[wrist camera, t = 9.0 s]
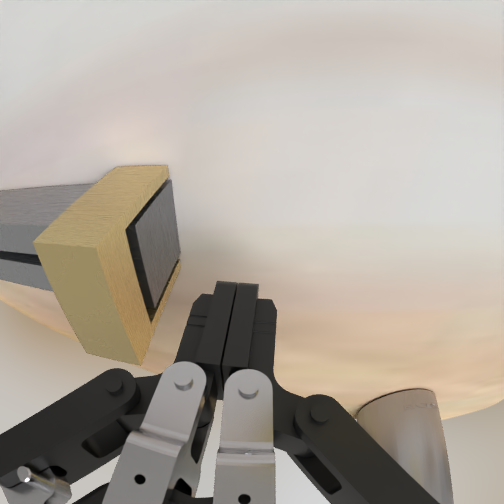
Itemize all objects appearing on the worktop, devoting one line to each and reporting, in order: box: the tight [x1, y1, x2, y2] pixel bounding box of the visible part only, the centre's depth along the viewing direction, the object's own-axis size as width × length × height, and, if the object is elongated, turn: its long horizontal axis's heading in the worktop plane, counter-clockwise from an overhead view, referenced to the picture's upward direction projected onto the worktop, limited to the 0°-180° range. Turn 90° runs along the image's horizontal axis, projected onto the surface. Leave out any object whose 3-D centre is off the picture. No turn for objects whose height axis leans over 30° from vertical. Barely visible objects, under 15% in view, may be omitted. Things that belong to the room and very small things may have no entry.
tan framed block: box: [33, 165, 181, 366], centre depth 14 cm, size 3×6×7 cm, turn 179°
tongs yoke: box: [125, 180, 180, 308], centre depth 15 cm, size 3×5×5 cm, turn 179°
